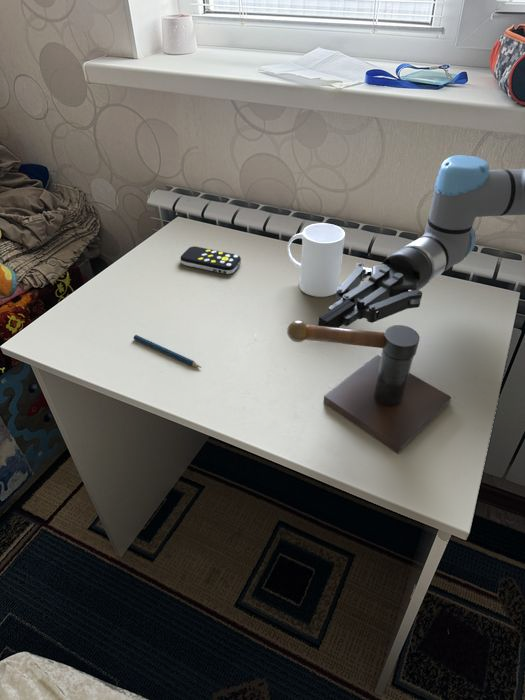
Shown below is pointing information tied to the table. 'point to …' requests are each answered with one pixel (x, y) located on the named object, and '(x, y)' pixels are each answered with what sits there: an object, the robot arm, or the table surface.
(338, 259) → the mug
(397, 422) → the valve stand
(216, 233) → the table surface
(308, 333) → the handle
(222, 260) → the remote control
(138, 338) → the pencil
